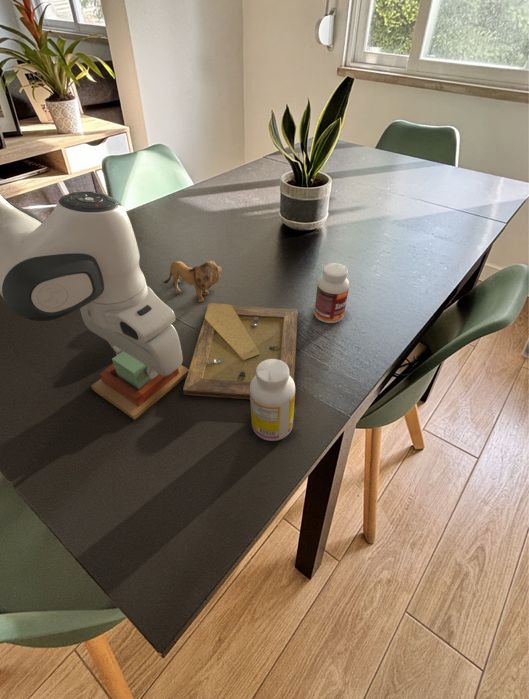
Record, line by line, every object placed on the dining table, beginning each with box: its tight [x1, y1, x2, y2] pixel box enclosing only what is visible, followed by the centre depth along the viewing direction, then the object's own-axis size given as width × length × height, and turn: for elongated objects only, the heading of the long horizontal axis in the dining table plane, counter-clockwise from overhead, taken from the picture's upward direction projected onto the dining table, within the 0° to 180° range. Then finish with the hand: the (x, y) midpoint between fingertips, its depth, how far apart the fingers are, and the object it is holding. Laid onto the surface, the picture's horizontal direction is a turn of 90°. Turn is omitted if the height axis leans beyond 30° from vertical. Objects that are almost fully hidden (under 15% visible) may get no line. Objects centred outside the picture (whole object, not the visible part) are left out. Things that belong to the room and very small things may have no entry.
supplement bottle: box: [249, 359, 296, 442], centre depth 64 cm, size 7×7×13 cm
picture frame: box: [182, 302, 298, 400], centre depth 80 cm, size 19×2×24 cm
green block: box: [111, 351, 159, 389], centre depth 73 cm, size 6×6×4 cm
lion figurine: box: [163, 260, 222, 303], centre depth 91 cm, size 15×5×9 cm, turn 67°
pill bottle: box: [314, 262, 350, 324], centre depth 85 cm, size 6×6×11 cm
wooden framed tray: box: [90, 363, 189, 420], centre depth 74 cm, size 13×11×3 cm
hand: (138, 366), depth 73 cm, fingers closed on green block, 5 cm apart
